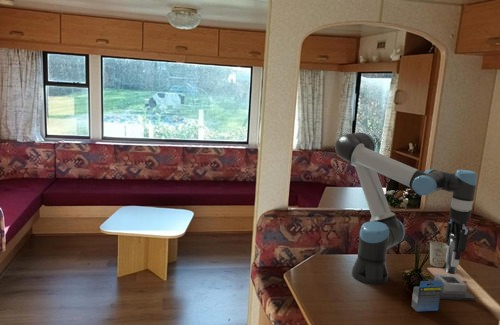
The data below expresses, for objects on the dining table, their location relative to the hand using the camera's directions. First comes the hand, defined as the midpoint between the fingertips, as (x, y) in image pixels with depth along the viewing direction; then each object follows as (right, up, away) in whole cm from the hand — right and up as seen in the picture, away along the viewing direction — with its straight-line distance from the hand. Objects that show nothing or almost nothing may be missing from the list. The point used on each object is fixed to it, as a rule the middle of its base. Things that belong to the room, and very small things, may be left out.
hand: (451, 263), depth 167 cm
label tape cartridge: (-17, -14, -13) cm, 25 cm away
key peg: (0, -4, +1) cm, 4 cm away
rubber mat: (+6, -9, +17) cm, 20 cm away
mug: (+8, -7, +29) cm, 31 cm away
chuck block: (0, -12, +2) cm, 12 cm away
